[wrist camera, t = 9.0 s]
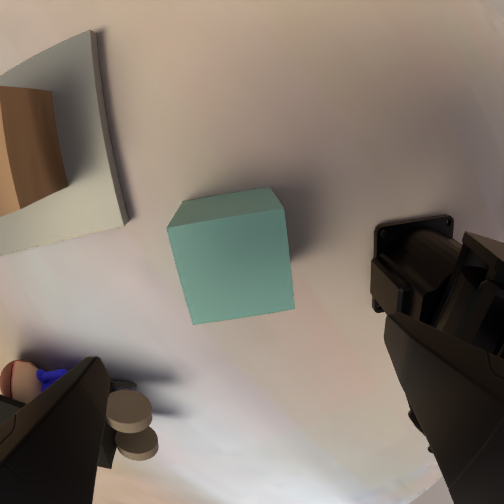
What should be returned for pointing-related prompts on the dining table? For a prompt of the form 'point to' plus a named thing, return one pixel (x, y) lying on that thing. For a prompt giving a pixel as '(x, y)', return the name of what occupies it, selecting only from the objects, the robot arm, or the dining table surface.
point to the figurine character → (117, 418)
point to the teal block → (232, 255)
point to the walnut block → (28, 148)
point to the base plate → (69, 150)
